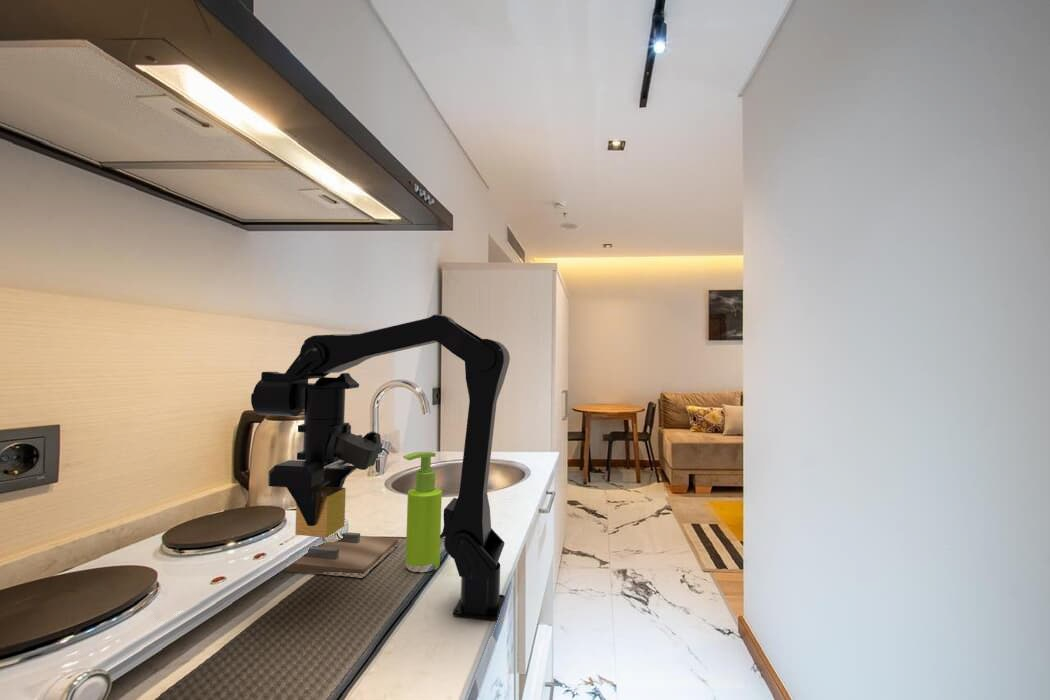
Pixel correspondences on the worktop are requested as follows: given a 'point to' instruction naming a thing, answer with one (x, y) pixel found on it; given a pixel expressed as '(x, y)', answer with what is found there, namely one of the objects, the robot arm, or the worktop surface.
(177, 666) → the worktop surface
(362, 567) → the dock
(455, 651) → the worktop surface
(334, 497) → the block
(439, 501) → the soap dispenser
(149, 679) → the worktop surface
